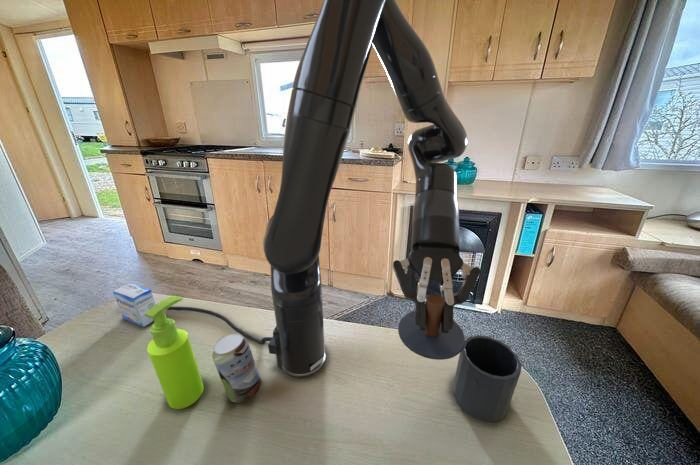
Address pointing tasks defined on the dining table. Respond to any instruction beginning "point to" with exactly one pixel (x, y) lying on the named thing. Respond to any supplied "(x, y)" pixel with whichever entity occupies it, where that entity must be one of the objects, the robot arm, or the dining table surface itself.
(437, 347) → the lid
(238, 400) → the beverage can
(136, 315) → the medicine box
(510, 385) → the tin
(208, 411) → the dining table surface
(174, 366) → the soap dispenser
